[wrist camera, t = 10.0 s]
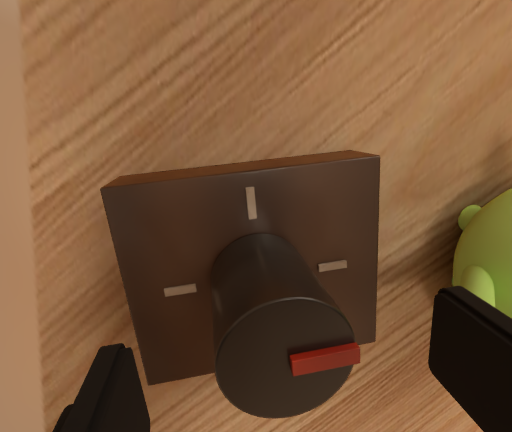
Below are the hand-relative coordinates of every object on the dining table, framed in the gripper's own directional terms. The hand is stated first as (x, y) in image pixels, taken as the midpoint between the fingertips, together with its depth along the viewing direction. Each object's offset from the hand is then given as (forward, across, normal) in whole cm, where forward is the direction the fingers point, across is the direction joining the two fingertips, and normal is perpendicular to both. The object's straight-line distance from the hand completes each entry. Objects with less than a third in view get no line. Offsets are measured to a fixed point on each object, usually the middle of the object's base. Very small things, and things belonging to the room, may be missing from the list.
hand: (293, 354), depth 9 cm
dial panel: (+8, 0, 0) cm, 9 cm away
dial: (+5, 0, 0) cm, 5 cm away
